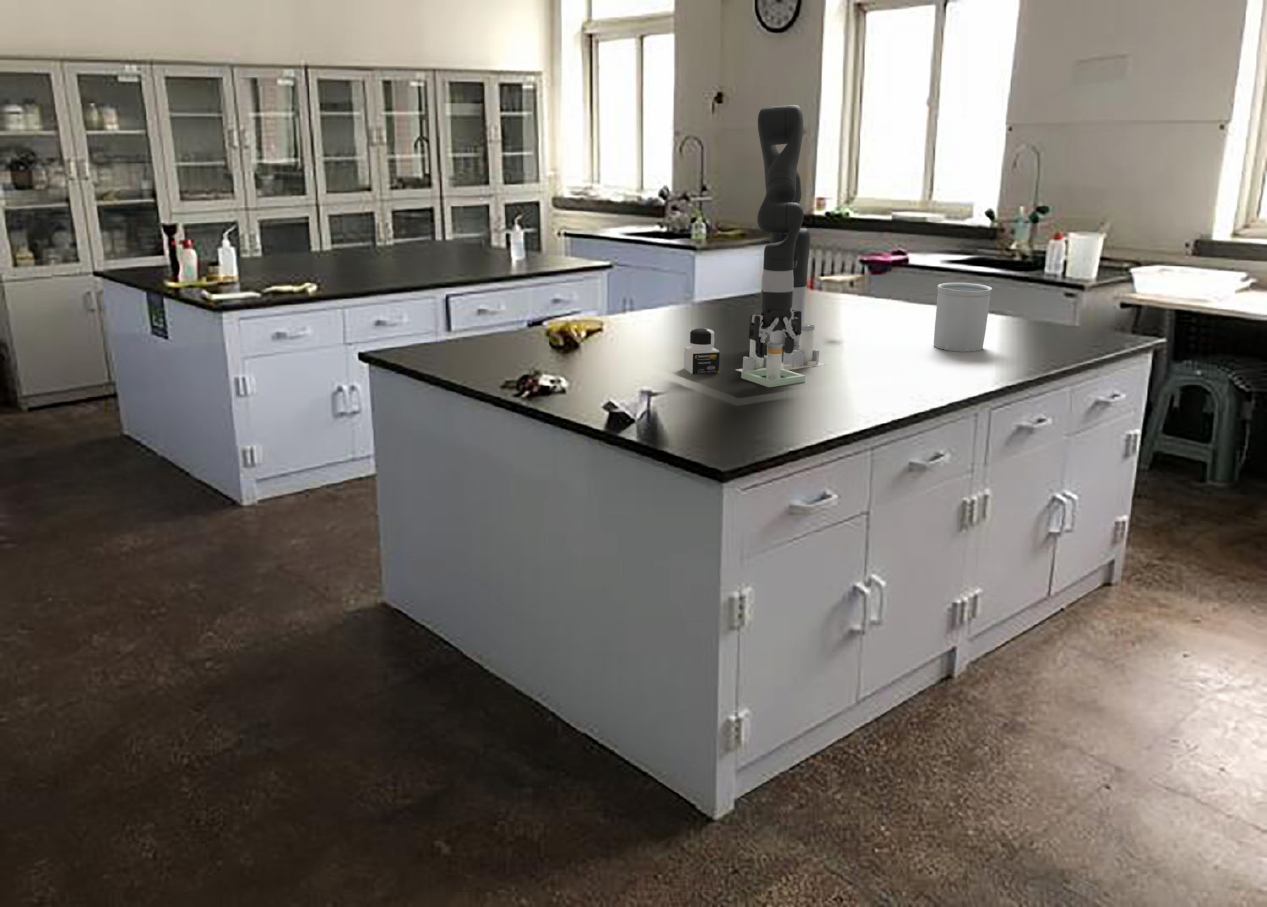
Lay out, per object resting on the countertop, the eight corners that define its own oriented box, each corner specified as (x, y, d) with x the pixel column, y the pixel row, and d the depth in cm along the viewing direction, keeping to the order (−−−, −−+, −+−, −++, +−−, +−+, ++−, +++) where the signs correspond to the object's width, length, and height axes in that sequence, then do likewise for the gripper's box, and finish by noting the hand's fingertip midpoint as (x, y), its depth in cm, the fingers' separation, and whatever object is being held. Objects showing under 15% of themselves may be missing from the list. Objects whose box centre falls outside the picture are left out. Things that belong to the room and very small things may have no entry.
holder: (734, 375, 265) (735, 356, 263) (808, 364, 277) (809, 346, 275) (751, 380, 259) (752, 361, 258) (825, 370, 271) (826, 351, 269)
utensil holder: (996, 350, 295) (1003, 289, 290) (951, 354, 291) (957, 291, 286) (965, 340, 309) (971, 281, 303) (921, 343, 304) (927, 283, 299)
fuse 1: (745, 369, 264) (747, 330, 261) (757, 368, 266) (759, 329, 263) (754, 372, 261) (756, 333, 258) (766, 371, 263) (768, 332, 260)
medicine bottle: (692, 380, 260) (693, 332, 256) (683, 374, 266) (684, 327, 263) (719, 378, 262) (720, 331, 258) (709, 372, 268) (711, 326, 264)
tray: (741, 383, 256) (741, 371, 256) (776, 378, 262) (776, 366, 261) (768, 393, 247) (769, 380, 247) (804, 387, 253) (805, 375, 252)
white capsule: (795, 363, 272) (797, 325, 269) (806, 361, 274) (808, 323, 271) (804, 365, 269) (806, 327, 266) (815, 364, 271) (817, 326, 268)
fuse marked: (771, 385, 252) (773, 345, 249) (762, 382, 255) (764, 342, 252) (783, 383, 254) (785, 343, 251) (774, 380, 257) (776, 340, 254)
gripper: (790, 284, 254) (787, 349, 259) (743, 288, 247) (741, 355, 252) (810, 288, 248) (807, 354, 253) (763, 293, 241) (760, 361, 246)
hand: (774, 355), depth 252 cm, fingers open, 8 cm apart
